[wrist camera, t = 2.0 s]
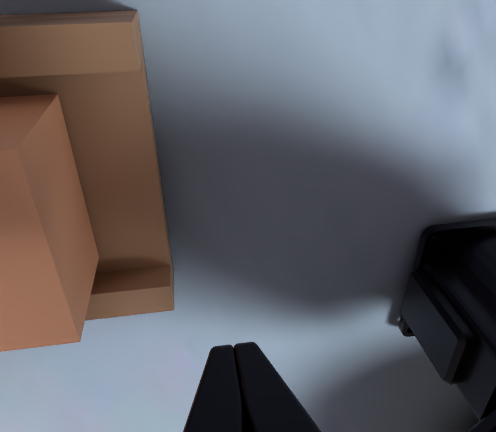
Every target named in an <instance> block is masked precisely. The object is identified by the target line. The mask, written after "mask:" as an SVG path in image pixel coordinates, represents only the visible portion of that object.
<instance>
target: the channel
mask: <svg viewBox="0 0 496 432" xmlns="http://www.w3.org/2000/svg"><path fill="white" fill-rule="evenodd" d="M48 94H58V97H59V101H60V105H61V109H62V112H63V116H64V120H65V124H66V128H67V132H68V136H69V140H70V144H71V148H72V152H73V156H74V160H75V164H76V168H77V172H78V176H79V180H80V184H81V188H82V192H83V196H84V200H85V204H86V208H87V212H88V216H89V220H90V224H91V227H92V231H93V235H94V239H95V243H96V247H97V251H98V255H99V259H98V264H97V268H96V272H95V277H94V281H93V286H92V290H91V295H90V299H89V304H88V308H87V312H86V317H85V320H93V319H102V318H111V317H119V316H128V315H136V314H145V313H153V312H162V311H171V310H174V272H173V265H172V258H171V250H170V243H169V236H168V229H167V221H166V214H165V207H164V200H163V192H162V185H161V178H160V170H159V163H158V156H157V149H156V141H155V134H154V127H153V119H152V112H151V105H150V98H149V90H148V83H147V76H146V69H145V61H144V54H143V47H142V39H141V32H140V25H139V18H138V10H131V11H102V12H72V13H43V14H13V15H0V97H12V96H30V95H48Z"/></svg>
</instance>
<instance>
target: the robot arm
mask: <svg viewBox="0 0 496 432" xmlns="http://www.w3.org/2000/svg"><path fill="white" fill-rule="evenodd" d="M434 236H436V237H435V238H433V237H434ZM432 238H433V239H432ZM399 329H400V331H401V332H402V334H403V335H404V336H406V337H410V336H415V337H416V338H417V340H418V341H419V343H420V345H421V346H422V348H423V349H424V351H425V353H426V354H427V356H428V358H429V359H430V361H431V362H432V364H433V366H434V367H435V369H436V370H437V372H438V374H439V375H440V377H441V378H442V380H443V381H445V382H446V383H447V384H449V385H451V384H456V385H457V387H458V388H459V390H460V392H461V393H462V395H463V396H464V398H465V399H466V401H467V402H468V404H469V406H470V407H471V409H472V410H473V412H474V413H475V415H476V416H477V418H478V420H479V422H478V423H477V424H476V425H474V426H473V427H472V428H471V429H470V430H469V431H467V432H496V219H491V220H481V221H471V222H461V223H451V224H441V225H433V226H429V227H428V228H426V229H425V230H424V231H423V232H422V234H421V237H420V241H419V245H418V249H417V253H416V257H415V261H414V265H413V269H412V272H411V274H410V276H409V280H408V284H407V288H406V292H405V296H404V300H403V304H402V308H401V317H400V321H399ZM183 432H321V431H320V429H319V428H318V427H317V425H316V424H315V422H314V421H313V420H312V418H311V417H310V416H309V414H308V413H307V412H306V410H305V409H304V408H303V406H302V405H301V403H300V402H299V401H298V399H297V398H296V397H295V395H294V394H293V393H292V391H291V390H290V389H289V387H288V386H287V385H286V383H285V382H284V380H283V379H282V378H281V376H280V375H279V374H278V372H277V371H276V370H275V368H274V367H273V366H272V364H271V363H270V361H269V360H268V359H267V357H266V356H265V355H264V353H263V352H262V351H261V349H260V348H259V347H258V345H257V344H256V343H254V342H246V343H238V344H236V345H235V346H234V348H233V346H232V345H222V346H215V347H213V348H212V349H211V350H210V353H209V356H208V359H207V362H206V365H205V368H204V371H203V374H202V377H201V380H200V383H199V386H198V389H197V392H196V395H195V398H194V401H193V404H192V407H191V410H190V413H189V416H188V419H187V422H186V425H185V427H184V430H183Z"/></svg>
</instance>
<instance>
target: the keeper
mask: <svg viewBox="0 0 496 432" xmlns="http://www.w3.org/2000/svg"><path fill="white" fill-rule="evenodd" d="M98 259H99V255H98V251H97V247H96V243H95V239H94V235H93V231H92V227H91V224H90V220H89V216H88V212H87V208H86V204H85V200H84V196H83V192H82V188H81V184H80V180H79V176H78V172H77V168H76V164H75V160H74V156H73V152H72V148H71V144H70V140H69V136H68V132H67V128H66V124H65V120H64V116H63V112H62V109H61V105H60V101H59V97H58V94H48V95H30V96H12V97H0V352H1V351H9V350H18V349H26V348H34V347H42V346H50V345H58V344H67V343H75V342H80V339H81V335H82V330H83V326H84V321H85V317H86V312H87V308H88V304H89V299H90V295H91V290H92V286H93V281H94V277H95V272H96V268H97V264H98Z"/></svg>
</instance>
